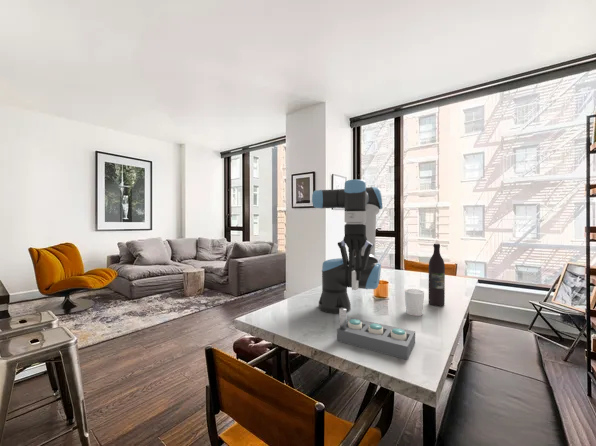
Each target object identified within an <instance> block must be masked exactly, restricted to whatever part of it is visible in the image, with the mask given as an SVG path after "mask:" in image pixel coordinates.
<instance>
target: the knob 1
mask: <svg viewBox="0 0 596 446" xmlns="http://www.w3.org/2000/svg"><path fill="white" fill-rule="evenodd" d="M356 319H357V318H355V319H352V320H350V321H348V320H347V321H348V328H352V329H356V330H361V329H362V322H361V321H360V320H361V319H360V320H356Z"/></svg>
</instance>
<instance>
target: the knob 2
mask: <svg viewBox="0 0 596 446" xmlns="http://www.w3.org/2000/svg"><path fill="white" fill-rule="evenodd" d="M397 328H398V327H397ZM397 328H396V329H392V330H391V338H394V339H399V340H403V341H406V332H405V331H404V330H402V329H403V328H402V329H397Z"/></svg>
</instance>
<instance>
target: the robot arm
mask: <svg viewBox="0 0 596 446" xmlns="http://www.w3.org/2000/svg"><path fill="white" fill-rule="evenodd" d="M311 202H312V206H313V208H314V209H321V210H322V209H344V223H345V224H344V236H343V239H342V240H340V241H338V242H337V246H338V248H339V251H340V254H341V258H331V259H327V260H324V261H323V262H322V265H321V266H322V267H321V269H322V270H321V273H322V274H321V277H322V278H321V284H322V285H321V286H322V289H321V295H320V297H319V300H318V309H319V310H320V311H322V312H325V313H329V314H339V308H346V313H347V312H350V310H352V309H351V300H350V298H349V294H348V288H351V290H352V291H356V290H358V289H362V290H376V289H378V287H379V284H380V279H381V271H382V264H381V263H379V260H378V259H377V257H376V232H377V231H376V228H377V226H376V225H377V215H378V214H379V213H380V210H382V209H383V199H382V190H381V189H380V187H378V186H370V187H367V183H366V180H364V179H348V180H346V181H345V182H344V188H340V189H339V188H338V189H318V190H314V191H313V193H312V195H311ZM346 246H347V248H348V249H347V248H346ZM347 251H348V253H347Z"/></svg>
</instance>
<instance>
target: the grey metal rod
mask: <svg viewBox="0 0 596 446" xmlns="http://www.w3.org/2000/svg"><path fill="white" fill-rule="evenodd" d="M338 314H339V315H338V317H339V320H338V321H339V327H338V328H339V329H340V330H346V322H347V312H346V308H339V313H338Z"/></svg>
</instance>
